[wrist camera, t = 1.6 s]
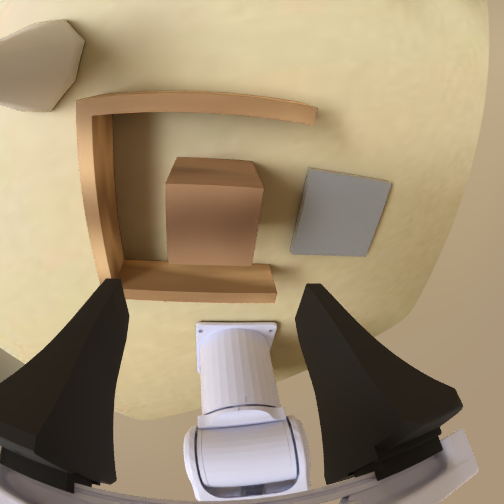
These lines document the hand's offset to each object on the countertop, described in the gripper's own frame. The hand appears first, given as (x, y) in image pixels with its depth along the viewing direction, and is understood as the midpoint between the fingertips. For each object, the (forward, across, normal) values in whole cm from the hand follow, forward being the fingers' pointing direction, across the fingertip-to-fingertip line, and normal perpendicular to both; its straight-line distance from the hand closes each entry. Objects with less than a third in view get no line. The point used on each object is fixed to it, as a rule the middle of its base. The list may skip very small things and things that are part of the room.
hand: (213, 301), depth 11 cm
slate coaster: (+10, -10, +1) cm, 14 cm away
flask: (+11, +13, -10) cm, 20 cm away
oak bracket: (+10, +1, 0) cm, 10 cm away
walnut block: (+10, 0, 0) cm, 10 cm away
